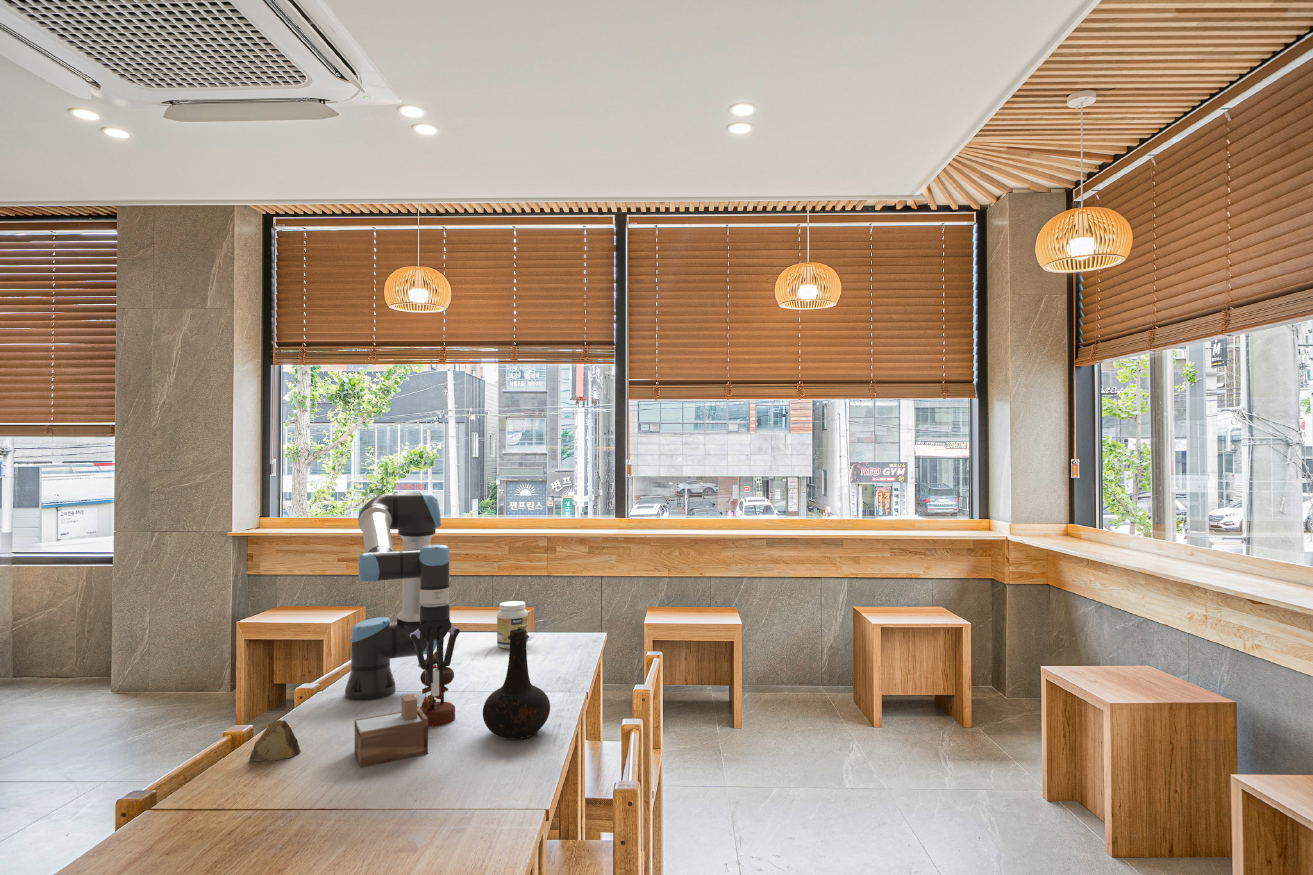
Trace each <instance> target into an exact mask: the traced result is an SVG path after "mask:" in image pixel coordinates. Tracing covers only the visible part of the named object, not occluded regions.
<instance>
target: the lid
mask: <svg viewBox="0 0 1313 875" xmlns="http://www.w3.org/2000/svg"><path fill="white" fill-rule="evenodd" d="M400 698H401V704H400V705H401V710H400V712H401V713H397V714H392V715H386V716H380V717H374V718H369V719H363V720H357V721H356V726H357V728H358V730H359V733H360V732H365V731H371V730H376V729H382V728H387V727H393V726H398V725H404V724H409V723H415V722H420V721H422V720H421V718H420V717H419V715H418V714H417V706H418V698H417V696H415V694H414V693H411V694H406V695H401V697H400Z"/></svg>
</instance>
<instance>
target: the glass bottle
mask: <svg viewBox="0 0 1313 875" xmlns="http://www.w3.org/2000/svg"><path fill="white" fill-rule="evenodd" d="M529 638H530V635H529V634H528V635H526V630H525V629H516V630H510V635H509V636H508V639H509V640H510V649H509V654H508V664H507V670H506V676H505V679H504V681H503V682H504V683H503V684H502V686H501V687H500V688H497V689H496V690H494V691H493V692H492V693H491V694H489V696H488V697H487V698H486V700H485V702H484V704H483V708H482V718H483V723H484V724H485V726H486V727H487V729H488V731H490V732H491V733H492V734H494V736H496V737H498V738H502V739H508V740H519V739H525V738H528V737H532V736H533V735H535V734H537V733H538V732H539V731H540V730H541V729H542V728H543V726H544V725H545V724H546V723H547V720H548V718H549V716H550V711H551V703H550V700H549V696H548V695H547V693H546V692H545V691H543V689H541V688H540V687H537V686H535V685H533V684H532V682H531V680H530V676H529V675H530V674H529V667H528V666H529V665H528V654H527V650H528V649H527V644H526V639H528V640H529Z"/></svg>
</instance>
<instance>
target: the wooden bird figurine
mask: <svg viewBox="0 0 1313 875" xmlns="http://www.w3.org/2000/svg"><path fill="white" fill-rule="evenodd" d="M424 660H425V664H427V657H426V658H424ZM417 667H419V668H421V667H420V666H419V664H418V665H417ZM434 668H437V650H435V651H434V652H433V669H434ZM454 672H455V671H454V670H453V669H452V668H451V667H450V666H446V667H445V668H444V669H443V681H441V682H439V696H434V697H433V696H432V694H431V683H428V681H427V670H422V672H421V674H420V678H419V679H420V682H421V684H423V685H424V686H425V687H424V688H422V689H421V694H424V695H425V696H424V698H423V700H422V703H421V706H419V707H420V709H421V710H422V711H423V713H424V714H425V715H426V717H427V718H428V727H439V726H444V725H448V724H450V723H452V722H453V721H455V719H456V707H455V705H454V704H453V703H451V702H449V701H445V693H446V692H447V691H449V689H448V687H447V685H449V684H450V683H451V682H453V680H454V678H455V673H454ZM427 693H430V694H429V695H428V696H427ZM436 699H437V700H440V701H437V700H436Z"/></svg>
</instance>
